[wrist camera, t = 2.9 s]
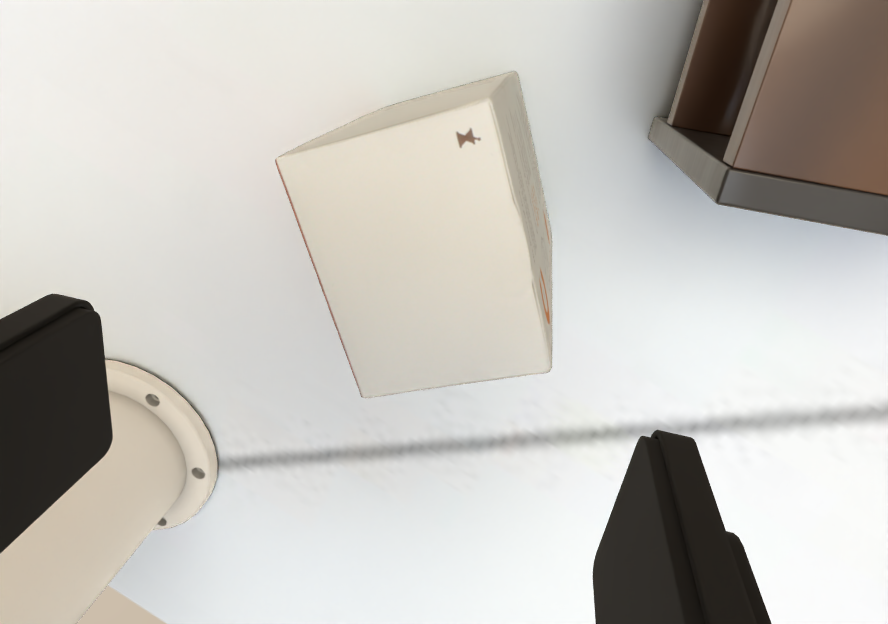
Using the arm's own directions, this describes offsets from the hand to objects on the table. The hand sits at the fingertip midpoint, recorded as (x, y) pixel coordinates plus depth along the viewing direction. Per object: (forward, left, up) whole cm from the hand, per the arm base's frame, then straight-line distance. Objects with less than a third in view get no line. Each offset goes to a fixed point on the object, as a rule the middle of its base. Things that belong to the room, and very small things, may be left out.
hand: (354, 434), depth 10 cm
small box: (0, 0, -21) cm, 21 cm away
